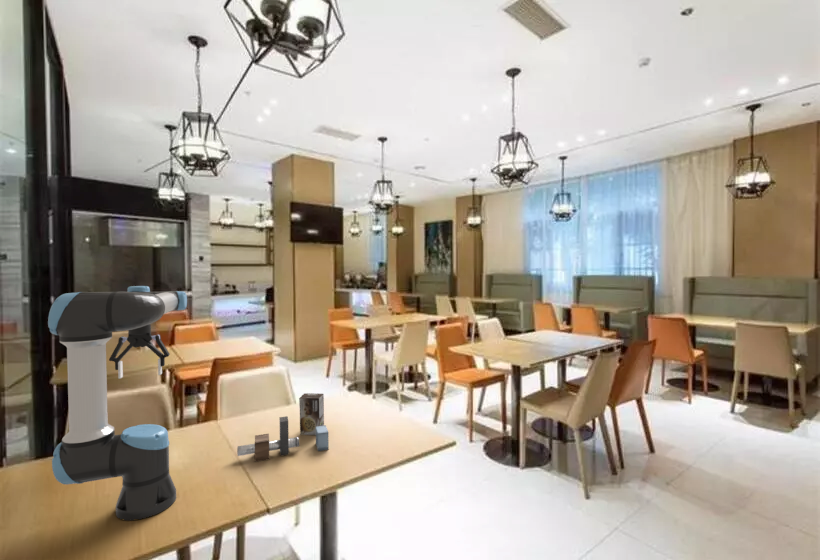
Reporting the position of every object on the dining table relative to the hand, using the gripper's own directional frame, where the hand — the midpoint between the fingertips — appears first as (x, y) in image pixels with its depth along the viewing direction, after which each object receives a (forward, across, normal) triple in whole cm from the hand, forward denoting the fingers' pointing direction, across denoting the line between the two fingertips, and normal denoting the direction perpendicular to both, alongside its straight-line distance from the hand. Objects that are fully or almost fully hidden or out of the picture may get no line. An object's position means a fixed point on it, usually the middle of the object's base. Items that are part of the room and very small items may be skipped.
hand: (140, 376), depth 157 cm
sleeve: (+28, -46, +29) cm, 61 cm away
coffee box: (+28, -66, +13) cm, 73 cm away
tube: (+28, -48, +29) cm, 63 cm away
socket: (+28, -68, +29) cm, 79 cm away
